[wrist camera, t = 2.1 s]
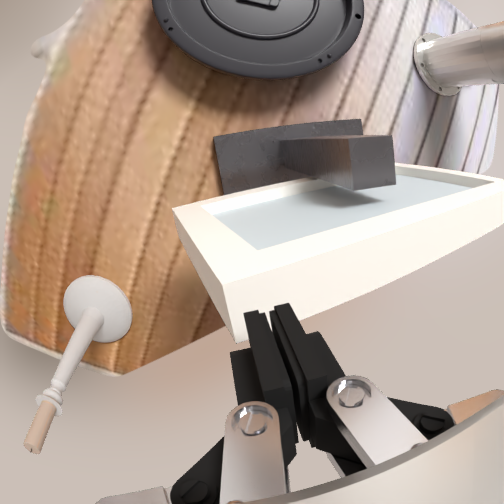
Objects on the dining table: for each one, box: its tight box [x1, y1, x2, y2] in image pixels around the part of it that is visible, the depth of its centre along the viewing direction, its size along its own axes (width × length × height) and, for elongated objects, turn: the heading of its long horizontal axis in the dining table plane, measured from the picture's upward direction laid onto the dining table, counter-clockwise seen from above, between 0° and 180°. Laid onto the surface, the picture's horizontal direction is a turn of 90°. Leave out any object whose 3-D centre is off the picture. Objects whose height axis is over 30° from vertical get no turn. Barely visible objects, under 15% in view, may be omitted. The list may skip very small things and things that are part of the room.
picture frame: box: [172, 163, 504, 344], centre depth 26 cm, size 30×3×20 cm, turn 100°
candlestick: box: [24, 275, 132, 454], centre depth 33 cm, size 13×13×30 cm
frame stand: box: [213, 119, 396, 195], centre depth 32 cm, size 22×9×23 cm, turn 99°
